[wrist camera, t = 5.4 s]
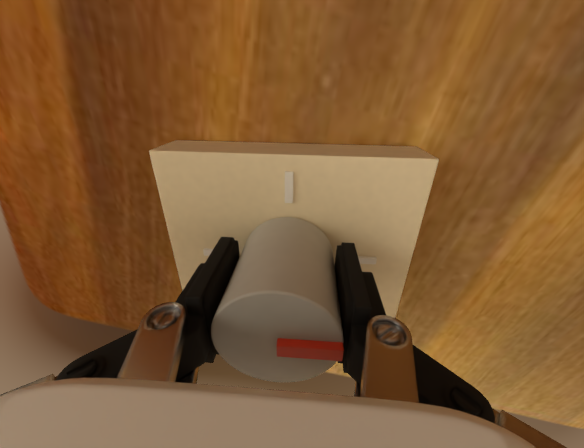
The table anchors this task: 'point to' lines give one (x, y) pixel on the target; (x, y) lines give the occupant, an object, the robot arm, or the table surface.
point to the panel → (297, 199)
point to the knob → (281, 305)
